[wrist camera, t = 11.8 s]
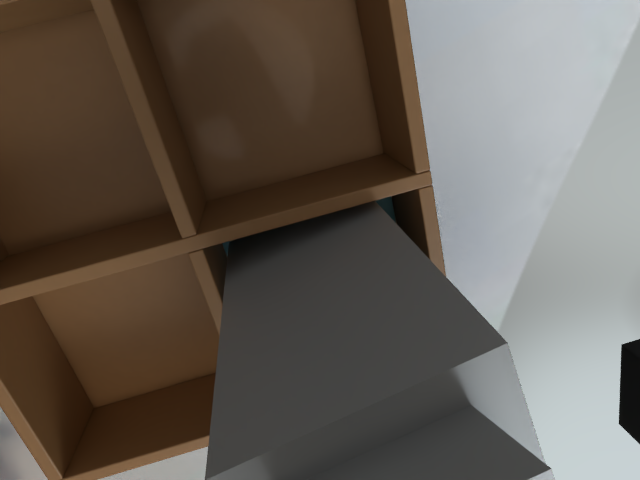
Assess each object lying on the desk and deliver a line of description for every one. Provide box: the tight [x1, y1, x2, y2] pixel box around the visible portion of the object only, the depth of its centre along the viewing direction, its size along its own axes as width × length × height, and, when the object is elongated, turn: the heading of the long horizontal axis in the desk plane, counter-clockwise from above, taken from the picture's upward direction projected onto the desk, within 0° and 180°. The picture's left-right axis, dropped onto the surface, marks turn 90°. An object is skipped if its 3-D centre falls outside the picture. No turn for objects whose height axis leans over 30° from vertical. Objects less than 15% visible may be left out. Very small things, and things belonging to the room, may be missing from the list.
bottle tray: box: [0, 0, 446, 480], centre depth 20 cm, size 19×19×5 cm
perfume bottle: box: [205, 201, 555, 480], centre depth 15 cm, size 7×7×18 cm
